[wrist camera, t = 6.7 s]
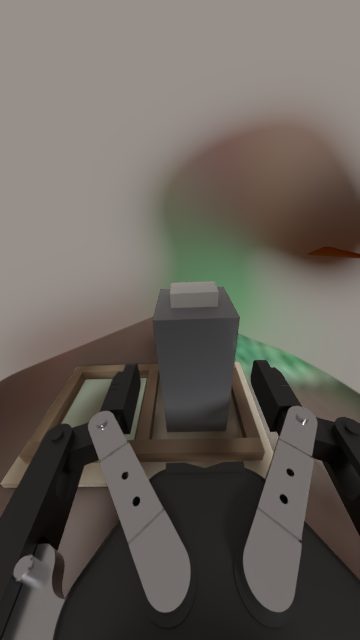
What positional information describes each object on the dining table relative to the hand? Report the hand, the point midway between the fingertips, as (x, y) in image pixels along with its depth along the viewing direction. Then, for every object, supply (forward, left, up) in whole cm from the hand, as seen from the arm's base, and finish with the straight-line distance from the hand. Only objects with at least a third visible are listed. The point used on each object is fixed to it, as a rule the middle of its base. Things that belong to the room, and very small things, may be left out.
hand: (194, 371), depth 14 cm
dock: (+4, -2, -7) cm, 9 cm away
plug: (0, -2, -7) cm, 7 cm away
